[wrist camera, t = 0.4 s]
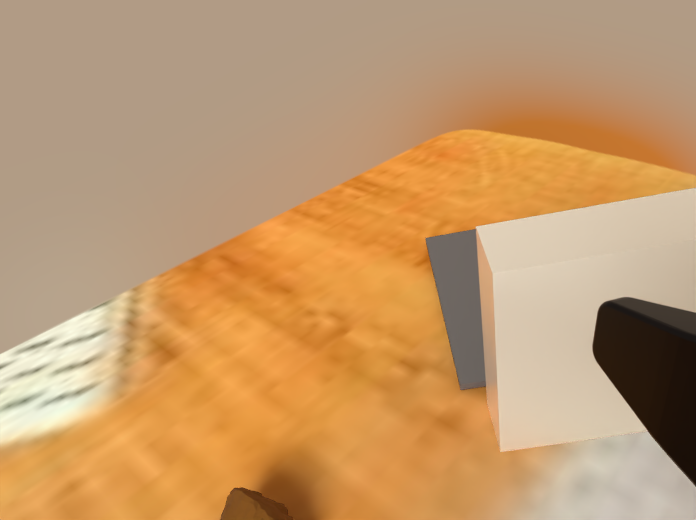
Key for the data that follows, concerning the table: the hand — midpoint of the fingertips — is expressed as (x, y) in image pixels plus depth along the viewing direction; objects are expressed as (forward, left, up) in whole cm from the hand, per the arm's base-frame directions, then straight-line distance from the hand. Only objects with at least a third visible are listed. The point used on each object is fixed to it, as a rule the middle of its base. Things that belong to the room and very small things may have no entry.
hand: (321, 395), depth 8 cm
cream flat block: (+6, -11, -16) cm, 20 cm away
